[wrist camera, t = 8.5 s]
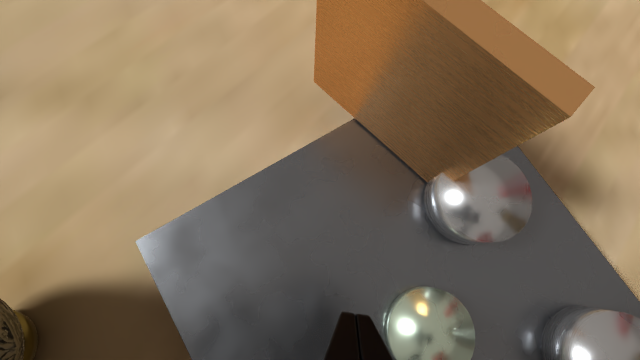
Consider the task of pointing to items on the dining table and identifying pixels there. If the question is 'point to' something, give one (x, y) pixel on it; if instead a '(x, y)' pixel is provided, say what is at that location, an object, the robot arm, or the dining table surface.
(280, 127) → the dining table surface
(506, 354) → the tribrach plate
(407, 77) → the thick wooden plank
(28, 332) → the cup
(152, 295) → the dining table surface
